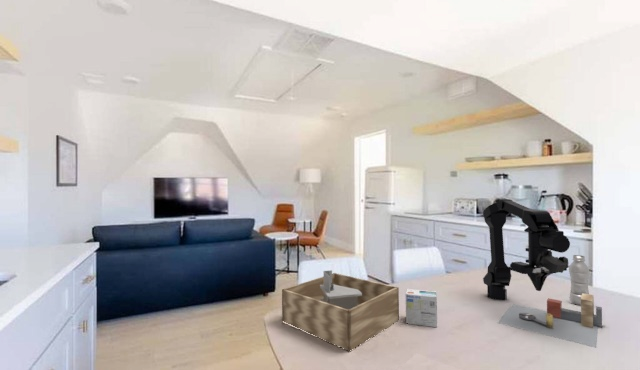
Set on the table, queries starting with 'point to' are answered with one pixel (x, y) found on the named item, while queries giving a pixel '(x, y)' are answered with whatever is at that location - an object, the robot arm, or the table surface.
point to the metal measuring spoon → (532, 318)
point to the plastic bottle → (578, 279)
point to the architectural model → (339, 293)
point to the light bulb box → (421, 307)
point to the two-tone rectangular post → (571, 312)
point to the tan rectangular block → (587, 310)
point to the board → (560, 326)
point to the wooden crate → (341, 310)
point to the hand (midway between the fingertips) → (538, 290)
